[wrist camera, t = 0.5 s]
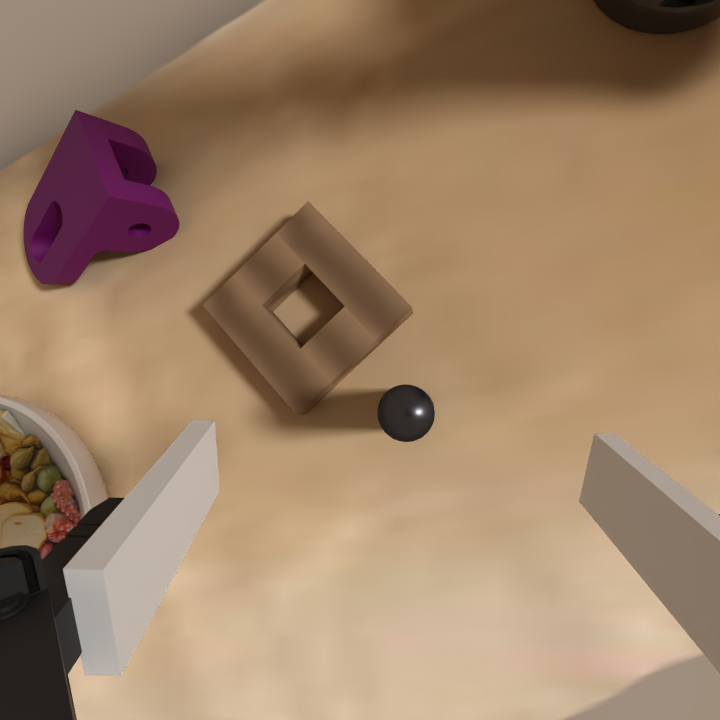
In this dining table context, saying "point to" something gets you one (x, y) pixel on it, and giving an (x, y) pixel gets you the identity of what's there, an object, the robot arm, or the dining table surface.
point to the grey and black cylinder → (406, 413)
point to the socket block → (283, 276)
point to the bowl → (42, 477)
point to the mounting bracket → (94, 201)
